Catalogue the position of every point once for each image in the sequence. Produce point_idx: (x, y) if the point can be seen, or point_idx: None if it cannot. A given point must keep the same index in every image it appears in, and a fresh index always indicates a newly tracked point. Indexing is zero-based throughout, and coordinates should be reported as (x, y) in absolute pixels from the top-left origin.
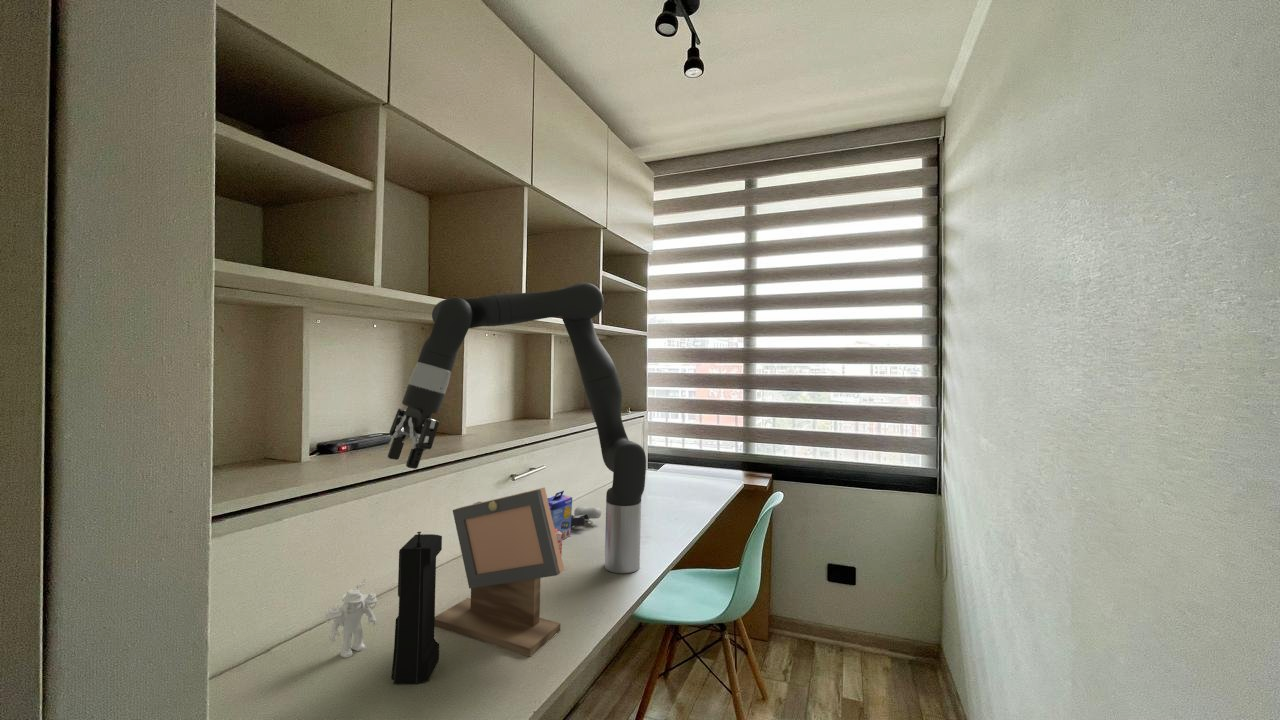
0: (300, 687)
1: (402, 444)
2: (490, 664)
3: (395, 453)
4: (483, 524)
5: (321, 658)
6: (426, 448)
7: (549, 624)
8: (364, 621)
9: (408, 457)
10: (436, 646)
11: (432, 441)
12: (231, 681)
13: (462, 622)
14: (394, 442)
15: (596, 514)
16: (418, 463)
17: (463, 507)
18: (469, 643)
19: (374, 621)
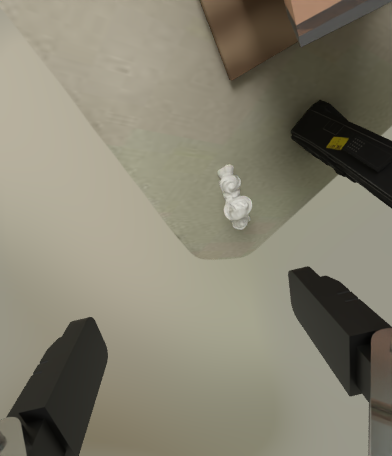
0: (258, 218)
1: (55, 399)
2: (382, 37)
3: (89, 357)
4: None
5: (221, 202)
6: None
7: None
8: (163, 157)
9: (315, 345)
10: (333, 109)
11: None
12: (212, 255)
13: (277, 38)
14: (78, 445)
15: None
16: (342, 286)
17: (367, 10)
18: (314, 43)
19: (233, 168)
